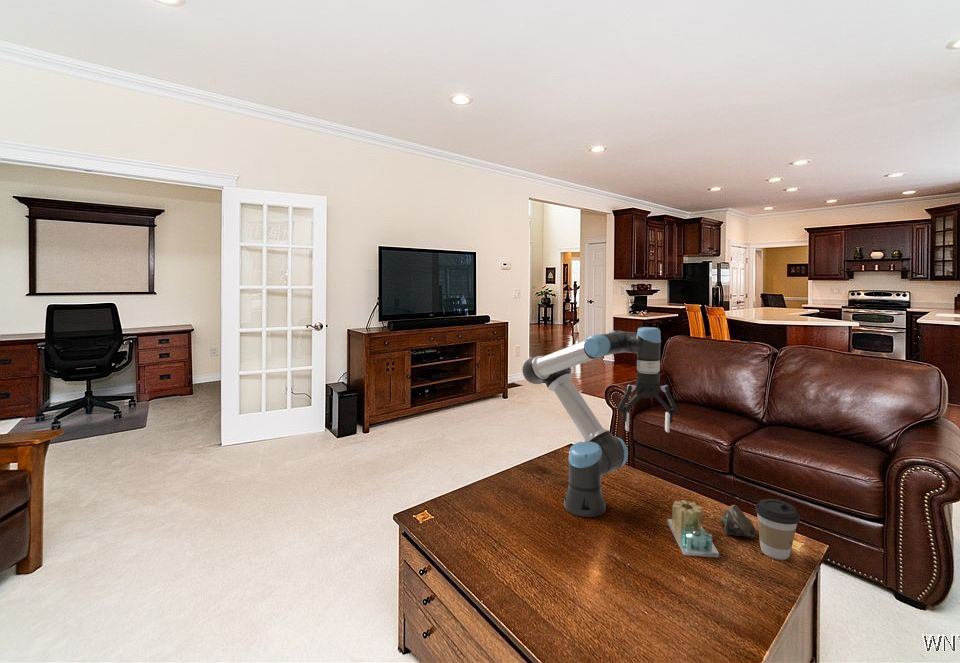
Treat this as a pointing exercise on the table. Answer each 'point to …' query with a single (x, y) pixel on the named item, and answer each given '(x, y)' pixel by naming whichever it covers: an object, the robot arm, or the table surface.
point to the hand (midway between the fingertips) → (646, 430)
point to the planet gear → (686, 515)
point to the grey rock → (737, 523)
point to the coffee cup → (776, 527)
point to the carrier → (694, 541)
